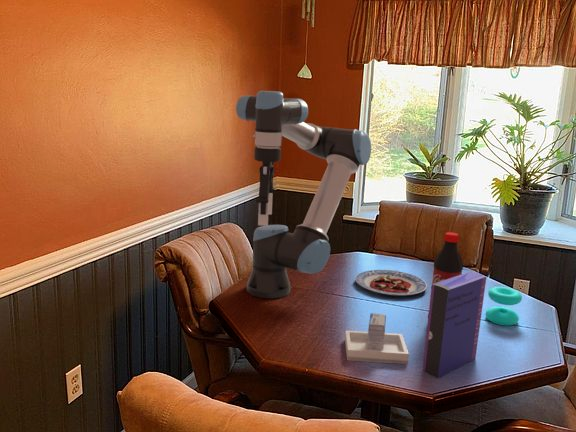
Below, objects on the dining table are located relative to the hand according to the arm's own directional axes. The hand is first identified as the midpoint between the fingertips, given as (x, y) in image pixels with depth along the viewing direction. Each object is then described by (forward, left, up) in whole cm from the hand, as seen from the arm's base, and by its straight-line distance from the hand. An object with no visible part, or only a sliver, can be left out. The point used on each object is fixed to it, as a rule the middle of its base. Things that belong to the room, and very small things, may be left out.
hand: (265, 219), depth 164 cm
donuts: (-12, +76, -32) cm, 83 cm away
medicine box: (+16, +33, -31) cm, 48 cm away
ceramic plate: (-37, +44, -32) cm, 66 cm away
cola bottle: (-3, +55, -32) cm, 64 cm away
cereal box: (+21, +52, -32) cm, 65 cm away
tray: (+16, +33, -32) cm, 48 cm away
